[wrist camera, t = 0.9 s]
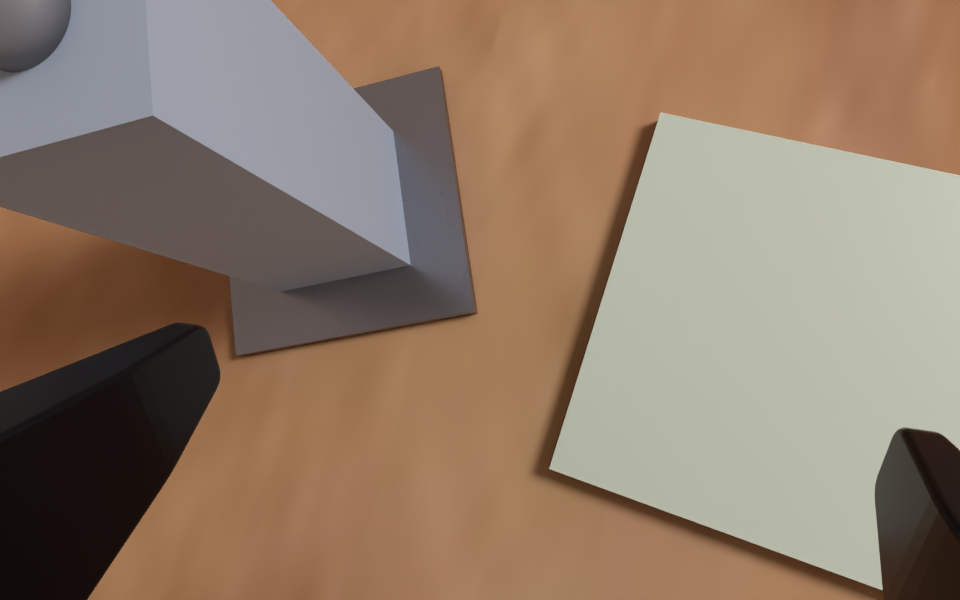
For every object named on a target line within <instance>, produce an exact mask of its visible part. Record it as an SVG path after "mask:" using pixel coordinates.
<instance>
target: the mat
mask: <svg viewBox="0 0 960 600" xmlns="http://www.w3.org/2000/svg"><path fill="white" fill-rule="evenodd" d="M903 427H907V428H914V429H921V430H927V431H934V432H938V433H940V434H942V435H943V436H945V437H946V438H947V439H948V440H949V441H950V442H952V443H953V444H954V445H955V446H956V447H957V448H958V449H959V450H960V175H955V174H950V173H946V172H941V171H936V170H931V169H927V168H922V167H917V166H913V165H908V164H903V163H898V162H894V161H889V160H884V159H879V158H875V157H870V156H865V155H860V154H856V153H851V152H846V151H841V150H837V149H832V148H827V147H822V146H818V145H813V144H808V143H803V142H799V141H794V140H789V139H785V138H780V137H775V136H770V135H766V134H761V133H756V132H751V131H747V130H742V129H737V128H732V127H728V126H723V125H718V124H713V123H709V122H704V121H699V120H694V119H690V118H685V117H680V116H675V115H671V114H666V113H661V112H660V116H659V119H658V122H657V125H656V128H655V132H654V135H653V138H652V141H651V144H650V148H649V151H648V154H647V157H646V160H645V164H644V167H643V170H642V173H641V176H640V180H639V183H638V186H637V189H636V192H635V196H634V199H633V202H632V205H631V208H630V212H629V215H628V218H627V221H626V224H625V228H624V231H623V234H622V237H621V240H620V244H619V247H618V250H617V253H616V256H615V260H614V263H613V266H612V269H611V272H610V276H609V279H608V282H607V285H606V288H605V292H604V295H603V298H602V301H601V304H600V308H599V311H598V314H597V317H596V320H595V324H594V327H593V330H592V333H591V336H590V340H589V343H588V346H587V349H586V352H585V356H584V359H583V362H582V365H581V368H580V372H579V375H578V378H577V381H576V384H575V388H574V391H573V394H572V397H571V400H570V404H569V407H568V410H567V413H566V416H565V420H564V423H563V426H562V429H561V432H560V436H559V439H558V442H557V445H556V448H555V452H554V455H553V458H552V461H551V464H550V468H549V469H551V470H553V471H556V472H559V473H562V474H564V475H567V476H570V477H572V478H575V479H578V480H581V481H583V482H586V483H589V484H592V485H594V486H597V487H600V488H603V489H605V490H608V491H611V492H614V493H616V494H619V495H622V496H625V497H627V498H630V499H633V500H636V501H638V502H641V503H644V504H647V505H649V506H652V507H655V508H658V509H660V510H663V511H666V512H669V513H671V514H674V515H677V516H680V517H682V518H685V519H688V520H691V521H693V522H696V523H699V524H702V525H704V526H707V527H710V528H712V529H715V530H718V531H721V532H723V533H726V534H729V535H732V536H734V537H737V538H740V539H743V540H745V541H748V542H751V543H754V544H756V545H759V546H762V547H765V548H767V549H770V550H773V551H776V552H778V553H781V554H784V555H787V556H789V557H792V558H795V559H798V560H800V561H803V562H806V563H809V564H811V565H814V566H817V567H820V568H822V569H825V570H828V571H831V572H833V573H836V574H839V575H841V576H844V577H847V578H850V579H852V580H855V581H858V582H861V583H863V584H866V585H869V586H872V587H874V588H877V589H880V590H883V588H882V576H881V565H880V554H879V542H878V531H877V520H876V508H875V483H876V479H877V476H878V473H879V470H880V468H881V465H882V462H883V460H884V457H885V455H886V452H887V449H888V447H889V444H890V442H891V439H892V437H893V435H894V433H895V432H896V431H897V430H898V429H900V428H903Z"/></svg>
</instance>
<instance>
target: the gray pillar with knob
mask: <svg viewBox="0 0 960 600" xmlns="http://www.w3.org/2000/svg"><path fill="white" fill-rule="evenodd" d="M0 207H3V208H6V209H9V210H13V211H16V212H19V213H23V214H26V215H29V216H33V217H36V218H39V219H42V220H46V221H49V222H52V223H56V224H59V225H62V226H65V227H69V228H72V229H75V230H79V231H82V232H85V233H89V234H92V235H95V236H98V237H102V238H105V239H108V240H112V241H115V242H118V243H121V244H125V245H128V246H131V247H135V248H138V249H141V250H144V251H148V252H151V253H154V254H158V255H161V256H164V257H168V258H171V259H174V260H177V261H181V262H184V263H187V264H191V265H194V266H197V267H200V268H204V269H207V270H210V271H214V272H217V273H220V274H224V275H227V276H230V277H233V278H237V279H240V280H243V281H247V282H250V283H253V284H256V285H260V286H263V287H266V288H270V289H273V290H276V291H280V292H282V291H287V290H292V289H296V288H301V287H306V286H311V285H316V284H321V283H326V282H331V281H336V280H341V279H346V278H351V277H356V276H361V275H366V274H370V273H375V272H380V271H385V270H390V269H395V268H400V267H405V266H410V265H411V264H410V256H409V248H408V241H407V233H406V225H405V218H404V210H403V202H402V195H401V187H400V179H399V172H398V164H397V156H396V149H395V141H394V134H393V130H392V129H391V128H390V127H389V126H388V125H387V124H386V123H385V122H384V121H383V120H382V119H381V118H380V117H379V115H378V114H377V113H376V112H375V111H374V110H373V109H372V108H371V107H370V106H369V105H368V104H367V103H366V102H365V101H364V99H363V98H362V97H361V96H360V95H359V94H358V93H357V92H356V91H355V90H354V89H353V88H352V87H351V86H350V85H349V83H348V82H347V81H346V80H345V79H344V78H343V77H342V76H341V75H340V74H339V73H338V72H337V71H336V70H335V69H334V67H333V66H332V65H331V64H330V63H329V62H328V61H327V60H326V59H325V58H324V57H323V56H322V55H321V54H320V53H319V51H318V50H317V49H316V48H315V47H314V46H313V45H312V44H311V43H310V42H309V41H308V40H307V39H306V38H305V37H304V35H303V34H302V33H301V32H300V31H299V30H298V29H297V28H296V27H295V26H294V25H293V24H292V23H291V22H290V21H289V19H288V18H287V17H286V16H285V15H284V14H283V13H282V12H281V11H280V10H279V9H278V8H277V7H276V6H275V5H274V3H273V2H272V1H271V0H0Z"/></svg>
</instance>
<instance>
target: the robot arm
mask: <svg viewBox="0 0 960 600" xmlns="http://www.w3.org/2000/svg"><path fill="white" fill-rule="evenodd" d="M219 381H220V368H219V365H218V362H217V359H216V355H215V352H214V349H213V346H212V342H211V339H210V336H209V333H208V332H207V330H206V329H205V328H204V327H202V326H200V325H194V324H187V323H174V324H171V325H168V326H166V327H163V328H161V329H158V330H156V331H153V332H151V333H148V334H146V335H143V336H140V337H138V338H135V339H133V340H130V341H128V342H125V343H123V344H120V345H118V346H115V347H113V348H110V349H108V350H105V351H103V352H100V353H98V354H95V355H92V356H90V357H87V358H85V359H82V360H80V361H77V362H75V363H72V364H70V365H67V366H65V367H62V368H60V369H57V370H55V371H52V372H50V373H47V374H45V375H42V376H39V377H37V378H34V379H32V380H29V381H27V382H24V383H22V384H19V385H17V386H14V387H12V388H9V389H7V390H4V391H2V392H0V600H87V599H88V598H89V596H90V595H91V593H92V592H93V590H94V589H95V587H96V586H97V584H98V583H99V581H100V580H101V578H102V577H103V575H104V574H105V572H106V571H107V569H108V568H109V566H110V565H111V563H112V562H113V560H114V559H115V557H116V556H117V554H118V553H119V551H120V550H121V548H122V547H123V545H124V544H125V542H126V541H127V539H128V538H129V536H130V535H131V533H132V532H133V530H134V529H135V527H136V526H137V524H138V523H139V521H140V520H141V518H142V517H143V515H144V514H145V512H146V511H147V509H148V508H149V506H150V505H151V503H152V502H153V500H154V499H155V497H156V496H157V494H158V493H159V491H160V490H161V489H162V487H163V485H164V484H165V482H166V481H167V479H168V477H169V476H170V474H171V473H172V471H173V469H174V467H175V466H176V464H177V462H178V460H179V458H180V457H181V455H182V453H183V451H184V449H185V447H186V445H187V444H188V442H189V440H190V438H191V436H192V434H193V432H194V430H195V429H196V427H197V425H198V423H199V421H200V419H201V417H202V415H203V414H204V412H205V410H206V408H207V406H208V404H209V402H210V400H211V399H212V397H213V395H214V393H215V391H216V389H217V387H218V384H219ZM875 508H876V520H877V531H878V542H879V554H880V565H881V576H882V588H883V599H884V600H960V450H959V449H958V448H957V447H956V446H955V445H954V444H953V443H952V442H950V441H949V440H948V439H947V438H946V437H945V436H943V435H942V434H940V433H938V432H934V431H927V430H921V429H914V428H907V427H903V428H900V429H898V430H897V431H896V432H895V433H894V435H893V437H892V439H891V442H890V444H889V447H888V449H887V452H886V455H885V457H884V460H883V462H882V465H881V468H880V470H879V473H878V476H877V479H876V483H875Z"/></svg>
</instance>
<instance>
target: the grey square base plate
mask: <svg viewBox="0 0 960 600" xmlns="http://www.w3.org/2000/svg"><path fill="white" fill-rule="evenodd" d="M354 90H355V91H356V92H357V93H358V94H359V95H360V96H361V97H362V98H363V99H364V101H365V102H366V103H367V104H368V105H369V106H370V107H371V108H372V109H373V110H374V111H375V112H376V113H377V114H378V115H379V117H380V118H381V119H382V120H383V121H384V122H385V123H386V124H387V125H388V126H389V127H390V128H391V129H392V130H393V134H394V141H395V149H396V156H397V164H398V172H399V179H400V187H401V195H402V202H403V210H404V218H405V225H406V233H407V241H408V248H409V256H410V264H411V265H410V266H405V267H400V268H395V269H390V270H385V271H380V272H375V273H370V274H366V275H361V276H356V277H351V278H346V279H341V280H336V281H331V282H326V283H321V284H316V285H311V286H306V287H301V288H296V289H292V290H287V291H282V292H280V291H276V290H273V289H270V288H266V287H263V286H260V285H256V284H253V283H250V282H247V281H243V280H240V279H237V278H233V277H230V276H229V281H230V293H231V305H232V317H233V330H234V342H235V354H236V356H246V355H252V354H257V353H262V352H268V351H273V350H279V349H284V348H290V347H295V346H300V345H306V344H311V343H317V342H322V341H328V340H333V339H339V338H344V337H349V336H355V335H360V334H366V333H371V332H377V331H382V330H387V329H393V328H398V327H404V326H409V325H415V324H420V323H426V322H431V321H436V320H442V319H447V318H453V317H458V316H464V315H469V314H475V313H477V308H476V301H475V294H474V287H473V281H472V274H471V267H470V260H469V253H468V246H467V240H466V233H465V226H464V219H463V212H462V206H461V199H460V192H459V185H458V178H457V171H456V165H455V158H454V151H453V144H452V137H451V131H450V124H449V117H448V110H447V103H446V97H445V90H444V83H443V76H442V71H441V69H440V68H439V66H438V67H434V68H431V69H427V70H423V71H419V72H415V73H412V74H408V75H404V76H400V77H396V78H393V79H389V80H385V81H381V82H377V83H374V84H370V85H366V86H362V87H358V88H355V89H354Z"/></svg>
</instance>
